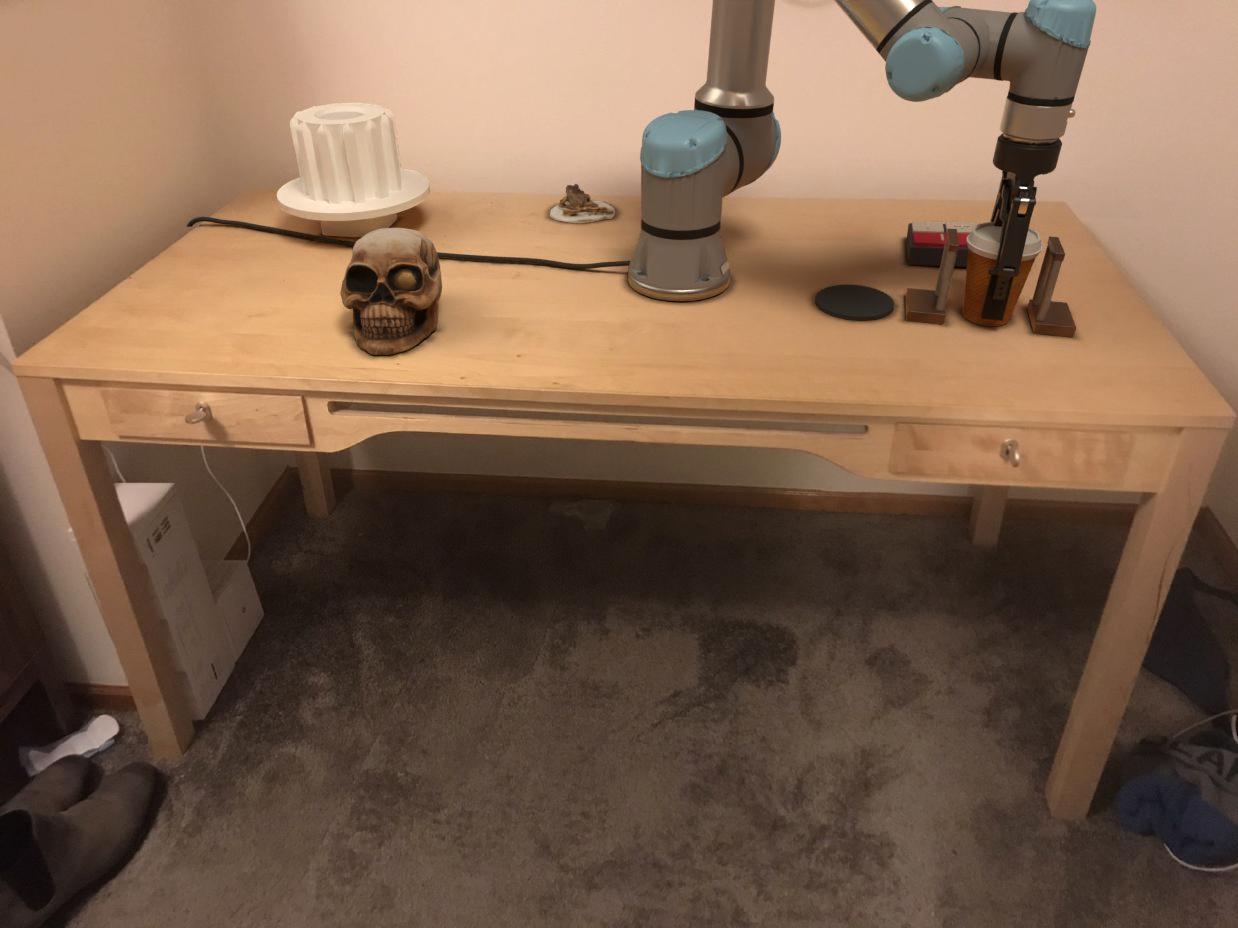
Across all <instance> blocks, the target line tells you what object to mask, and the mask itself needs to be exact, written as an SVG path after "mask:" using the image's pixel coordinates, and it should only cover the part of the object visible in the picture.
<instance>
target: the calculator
mask: <svg viewBox="0 0 1238 928" xmlns="http://www.w3.org/2000/svg"><path fill="white" fill-rule="evenodd" d="M976 225H978V224H977V222H976V221H945V223H943V221H941V220H940V221H939V220H938V221H937V220H912V221H911V222H910V223H908V225H907V232H906V255H907V264H908V265H909V266H928V267H929V266H931V267H932V266H934V267H940V265H941V260H942V256H943V251H944V246H945V241H946V236H947V230H948V229H957V234H958V241H959V249H958V252H957V256H956V261H955V265H954V267H958V268H959V267H962V268H967V259H968V245H967V244H968V243H967V236H968V235H969V234H970V233H971V231H972V229H973V227H975V226H976Z"/></svg>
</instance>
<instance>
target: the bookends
mask: <svg viewBox="0 0 1238 928" xmlns="http://www.w3.org/2000/svg"><path fill="white" fill-rule="evenodd" d="M1046 243H1047V245H1046V249H1045V253H1044V257H1043V260H1042V264H1041V267H1040V270H1039V275H1038V278H1037V281H1036V285H1035V289H1034V293H1033V296H1032V299H1031V298H1030V299H1029V300H1028V303H1027V307H1026V311H1027V314H1028V317H1029V322H1030V326H1031V329H1032V333H1033V334H1037V335H1044V336H1045V335H1046V336H1057V337H1058V336H1059V337H1064V338H1065V337H1067V338H1074V336H1075V333H1076V331H1077V326H1076V323H1075V321H1074V318H1073V315H1072V312H1071V309H1070V306H1069V304H1068V302H1063V301H1054V300H1052V298H1053V294H1054V292H1055V288H1056V284H1057V282H1058V278H1059V274H1060V272H1061V267H1062V264H1063V262H1064V261H1065V256H1066V253H1065V250H1064V247H1063V245H1062V241H1061V239H1060V237H1059V236H1048V240H1047V242H1046ZM958 249H959V241H958V234H957V229H948V230H947V236H946V241H945V246H944V251H943V256H942V260H941V265H940V266H939V270H938V275H937V279H936V284H935V289H923V288H914V287H907V288H906V293H905V321H906V322H915V323H925V324H933V325H934V324H935V325H944V324H945V320H946V316H947V315H946V314H947V313H946V306H947V301H948V297H949V292H950V288H951V285H952V284H951V283H952V278H953V275H954V269H955V266H954V265H955V261H956V256H957V252H958Z"/></svg>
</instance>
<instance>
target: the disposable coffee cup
mask: <svg viewBox="0 0 1238 928" xmlns="http://www.w3.org/2000/svg"><path fill="white" fill-rule="evenodd" d="M1001 230H1002V227H999V226H994V222H990V221H989V222H983V223H978V224H977V225H976V226H975V227H973V229H972V231H971V233H970V234H969V235H968V236H967V243H968V244H967V245H968V259H967V267H966V272H965V282H964V293H963V294H964V295H963V302H962V303H963V304H962V311H961V312H962V313H961V314H962V316H963V317H964V318H965V319H966V320H967V321H969V322H971V323H973V324H977V325H980V326H986V327H999V326H1000V327H1001V326H1004V325H1006V324H1008V323H1009V322H1010V320H1011V317H1012V316H1013V313H1014V311H1015V308H1016V306H1017V304H1018V301H1019V299H1020V297H1021V294H1022V292H1023V289H1024V287H1025V284H1026V282H1027V279H1028V278H1029V275H1030V272H1031V271H1032V268H1033V265H1034V263H1035V260H1036V258H1037V257H1038V256H1039V254H1040V253H1041V252H1042V251H1043V246H1044V245H1043V243H1042V235H1041V234H1040V233H1039V231H1036V230H1035V229H1033V228H1032V227H1029V229H1028V233H1027V238H1026V242H1025V247H1024V251H1023V256H1022V260H1021V265H1020V269H1019V271H1020V272H1019V274H1018V276H1017V277H1014V279H1013V282H1012V286H1011V290H1010V294H1009V298H1008V302H1007V305H1006V309H1005V313H1004V317H1003V321H1000V320H990V319H981V314H982V310H983V305H984V301H985V297H986V293H987V289H988V285H989V281H990V277H991V274H988V270H989V269H992V270H994V268H995V264H996V259H997V256H998V251H999V246H1000V243H999V241H1000V235H1001Z"/></svg>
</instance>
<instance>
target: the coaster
mask: <svg viewBox="0 0 1238 928" xmlns="http://www.w3.org/2000/svg"><path fill="white" fill-rule="evenodd" d="M814 303H815V305H816V307H817V308H818V309H820V311H822V312H824V313H825V314H827V315H830V316H832V317H835V318H839V319H843V320H848V321H849V320H850V321H873V320H879V319H882V318H885V317H887V316H889V315H890V314H891V313H892V312H893V310H894V306H895V302H894V300H893V298H892V297H891V296H890V295H889V294H887V293H886V292H884V291H882V290H880V289H877V288H874V287H871V286H867V285H859V284H849V283H847V284H845V283H844V284H835V285H830V286H829V285H828V286H826V287H824V288H822V289H820V290H819V291H818V292H817V293H816V294H815V298H814Z"/></svg>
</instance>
